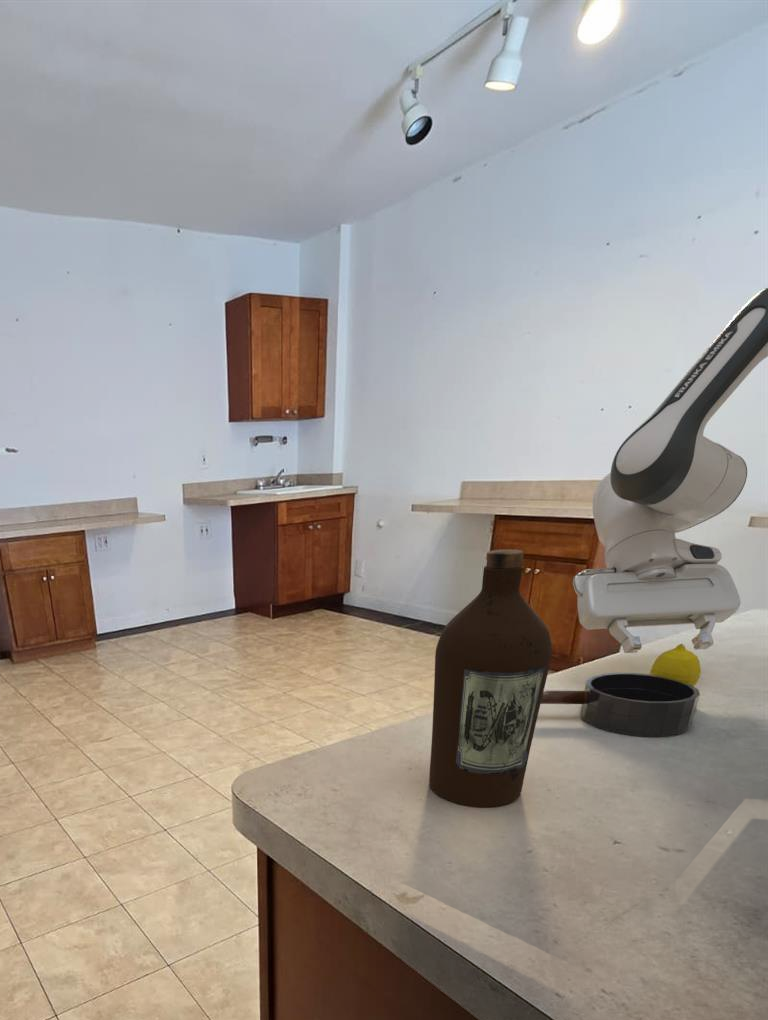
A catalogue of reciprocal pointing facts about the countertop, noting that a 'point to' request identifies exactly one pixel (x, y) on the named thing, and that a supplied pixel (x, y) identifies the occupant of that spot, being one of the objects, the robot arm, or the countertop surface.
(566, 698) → the pan handle
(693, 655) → the fruit
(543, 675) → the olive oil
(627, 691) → the pan
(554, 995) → the countertop surface
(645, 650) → the countertop surface
